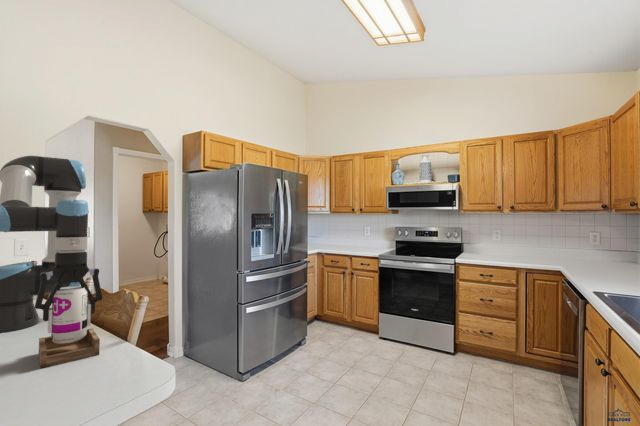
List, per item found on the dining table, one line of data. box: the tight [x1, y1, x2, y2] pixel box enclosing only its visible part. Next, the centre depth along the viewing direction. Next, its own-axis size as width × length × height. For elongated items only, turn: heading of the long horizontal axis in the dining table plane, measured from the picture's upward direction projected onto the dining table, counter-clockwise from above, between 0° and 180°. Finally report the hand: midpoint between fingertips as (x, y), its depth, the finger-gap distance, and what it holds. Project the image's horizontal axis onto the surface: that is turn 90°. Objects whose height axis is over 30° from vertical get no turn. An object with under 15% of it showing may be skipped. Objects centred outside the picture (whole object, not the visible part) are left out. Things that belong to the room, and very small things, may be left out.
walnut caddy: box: [38, 328, 101, 369], centre depth 93 cm, size 13×13×4 cm
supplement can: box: [50, 285, 88, 344], centre depth 93 cm, size 8×8×15 cm
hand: (69, 328), depth 93 cm, fingers closed on supplement can, 8 cm apart
